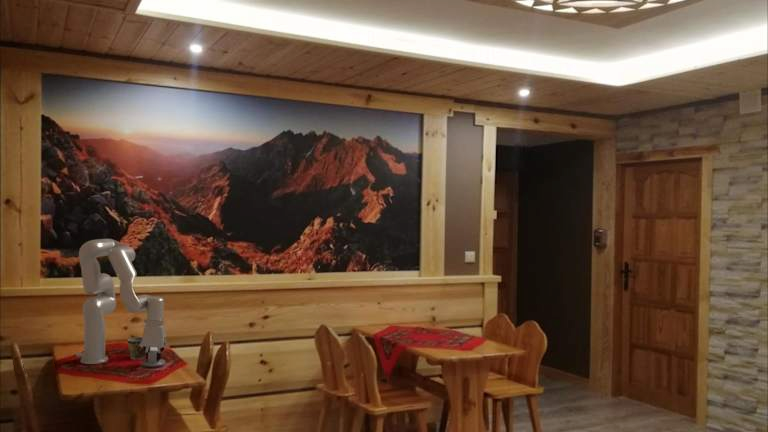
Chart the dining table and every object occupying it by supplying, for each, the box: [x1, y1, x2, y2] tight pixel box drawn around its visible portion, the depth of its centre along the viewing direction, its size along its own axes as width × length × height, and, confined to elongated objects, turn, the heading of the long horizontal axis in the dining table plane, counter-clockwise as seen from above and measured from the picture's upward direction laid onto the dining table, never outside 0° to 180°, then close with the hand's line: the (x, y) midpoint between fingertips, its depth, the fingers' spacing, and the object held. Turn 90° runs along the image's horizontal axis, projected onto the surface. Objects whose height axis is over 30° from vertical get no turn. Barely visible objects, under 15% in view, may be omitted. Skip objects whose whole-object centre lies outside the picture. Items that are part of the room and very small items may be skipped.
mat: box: [136, 362, 173, 371], centre depth 326 cm, size 13×13×1 cm
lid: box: [140, 350, 166, 367], centre depth 326 cm, size 11×11×6 cm
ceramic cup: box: [127, 336, 146, 361], centre depth 339 cm, size 13×10×10 cm
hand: (153, 360), depth 326 cm, fingers closed on lid, 4 cm apart
